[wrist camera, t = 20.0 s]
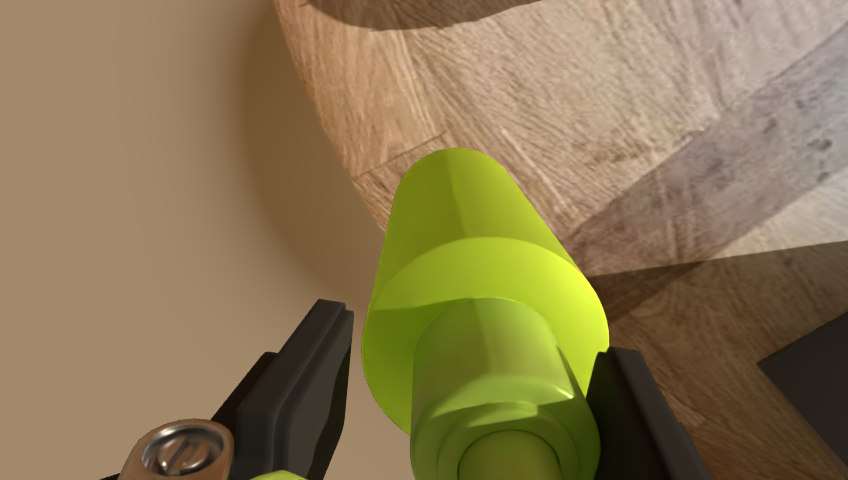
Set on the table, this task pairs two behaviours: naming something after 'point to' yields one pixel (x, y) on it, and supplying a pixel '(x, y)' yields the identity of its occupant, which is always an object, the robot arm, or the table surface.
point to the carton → (817, 385)
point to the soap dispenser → (481, 330)
